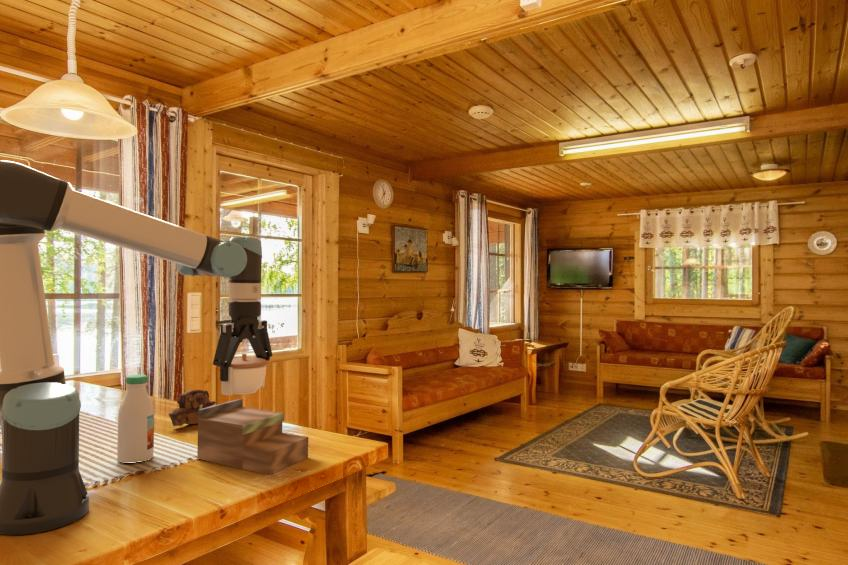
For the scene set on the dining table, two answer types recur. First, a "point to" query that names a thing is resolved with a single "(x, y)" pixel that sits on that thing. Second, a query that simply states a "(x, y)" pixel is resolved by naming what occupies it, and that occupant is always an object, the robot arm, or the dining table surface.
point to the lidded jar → (248, 374)
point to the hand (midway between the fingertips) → (243, 390)
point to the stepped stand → (247, 438)
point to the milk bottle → (135, 422)
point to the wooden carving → (190, 407)
